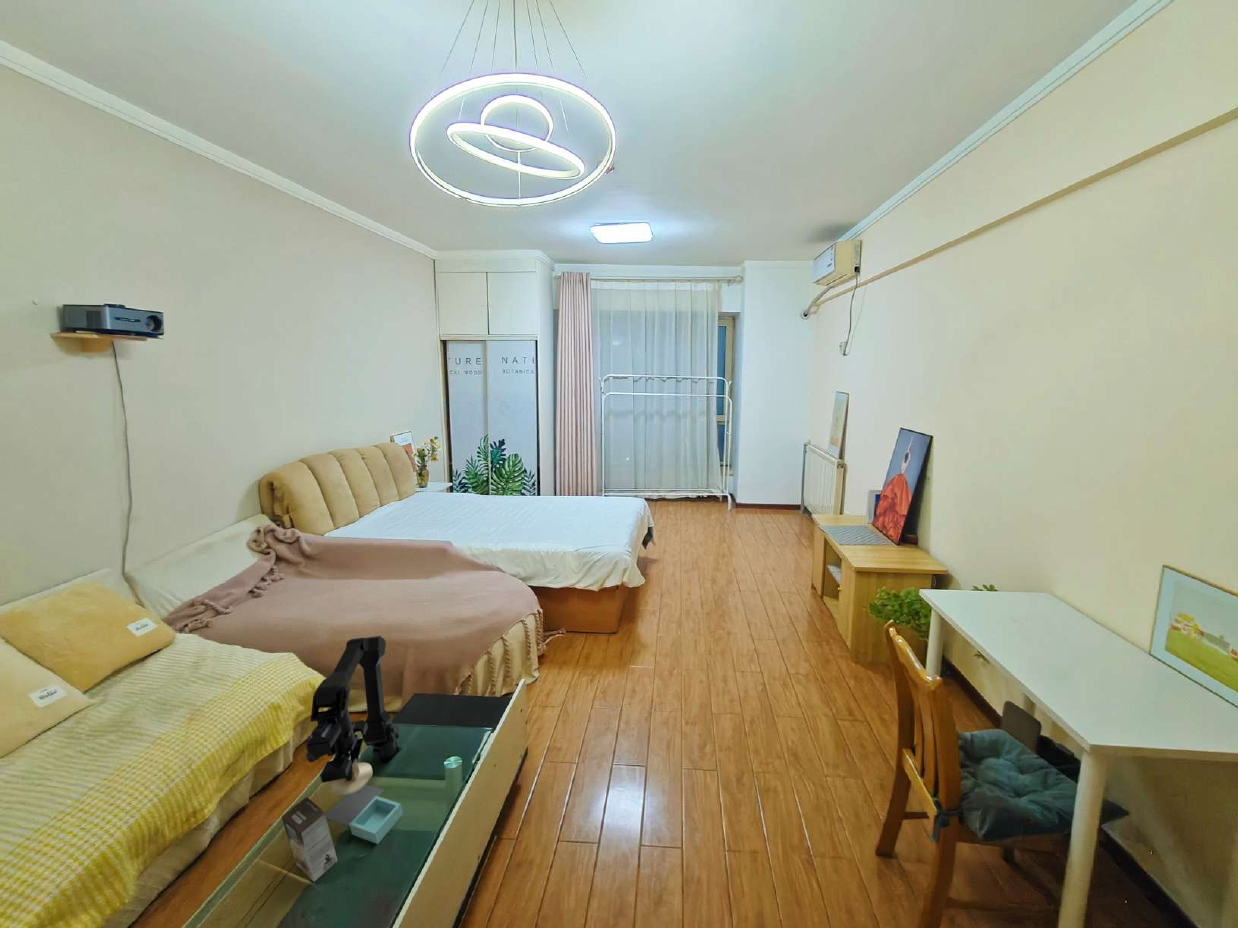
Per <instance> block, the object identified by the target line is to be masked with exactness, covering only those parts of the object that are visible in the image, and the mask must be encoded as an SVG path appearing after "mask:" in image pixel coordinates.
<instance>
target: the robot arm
mask: <svg viewBox="0 0 1238 928" xmlns="http://www.w3.org/2000/svg"><path fill="white" fill-rule="evenodd" d="M386 642H387V641H386V640H385V638H383V637H382V636H381V635H378V636H377V635H376V636H375V635H374V636H367V637H357V638H350V640H347V641H346V645H345V649H344V650H343V653H342V655H340V658H339V660H338V662H337V663H336V666H335V667H334V669H333V671H332V672H331V674H330V675H329V676H327V677H325V678H324V679H323V680H322V681H321V682H320V684H319V685H318V686H317V688H316V690H315V691H314V692H313V696H312V704H311V714H310V722H317V725H316V727H315V728H313V730H312V731H311V735H310V737H309V739H308V741H307V742H306V752H305V753H306V754H305V757H306V760H307V761H308V762H309V763H314V762H316V761H318V760H320V759H321V758H322V757H324V756H326V755H327V757H332V756H334V757H333V759H332V760H329V761H327V762H326V763H325V764H324V765H323V768H322V770H321V771H320V773H319V775H318V776H319V779H320V782H321V783H324V784H325V783H328V782H332V781H334V780H339V779H344V778H345V779H346V780H347V781H350V780H352V776H353V770H354V764H355V758H356V759H357V763H359V760H360V759H359V757H360V755H361V750H362V745H363V743H364V744H365V746H367V747H369V746H371V747H372V758H371V760H372V761H374V762H376V763H379V764H385V765H387V764H388V763H390V762H391V761H392V759H394V757H396V755H398V753H399V752H401V751H402V747H400V746H398V742H397V739H399V737H400V733H399V732H400V725H399V724H395V723H394V724H393V719H392V715H390V714H389V713H388V711H386V709H385V699H384V690H383V679H382V677H383V676H382V670H381V668H382V667H381V662H382V660H383V658H384V657H385V653H386V647H387V643H386ZM358 665H359V666H360V667H361V668H362V670H363V680H364V681H363V682H364V690H365V691H364V692H365V698H366V699H365V701H366V713H367V717H366V719H365V720H364V719H361V720H355V721H352V720H351V716H350V712H349V707H348V704H349V701H350V692H351V687H350V681H351V679H352V676H353V675H354V673H355V671H356V669H357V667H358ZM321 709H326V710H323V711H320V710H321ZM357 732H360V733H361V738H359V735H358V734H356V733H357Z"/></svg>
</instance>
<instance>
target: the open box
mask: <svg viewBox="0 0 1238 928" xmlns="http://www.w3.org/2000/svg"><path fill="white" fill-rule="evenodd" d="M402 816H404V811H403V809H402V804H401V803H400V802H396V801H394V800H390V799H387V798H384V797H381V796H375V797H374V798H373V800H372V801H371V802H370V803H369V804H368V805H367V806H366V807H365V808H364V809H363V810H362V811H361V812H360V813H359V814H358V816H357V817H356V818H355V819H354V820H353V821H352V822H351V823H350V824H349V825H350V827H349V828H350V832H351V835H353V836H355V837H358V838H360V839H362V840H365V841H369V842H371V843H374V844H376V845H379V843H380V842H381V841H382V840H383V839H384V838H385V836H386V835H387V834H388V833H389V832H390V831H391V829H392V828H393V827H394V826H395V825H396V823H397V822H398V821H399V820H400V819H401V817H402Z"/></svg>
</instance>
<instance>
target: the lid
mask: <svg viewBox="0 0 1238 928" xmlns="http://www.w3.org/2000/svg"><path fill="white" fill-rule="evenodd" d="M372 777H373V768H372V765H371V764H370V763H368V762H363V761H362V762H358V763H357V759H356V758H355V764H354V770H353V776H352V780H350V781H347V780H346V779H345V778H344V779H339V780H334V781H331V791H332V793H333V794H334V795H336V796H339V797H340V796H341V797H344V796H345V795H350V794H352V793H355V792H357V791H358V790H360V789H361V788H363V787H364V786H365V785H366V784H367V785H368V783H369V782H370V781H371V779H372Z"/></svg>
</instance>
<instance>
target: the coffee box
mask: <svg viewBox="0 0 1238 928" xmlns="http://www.w3.org/2000/svg"><path fill="white" fill-rule="evenodd" d="M325 815H326V813H325V811H324V810H323V809H322V808H320V807H319V806H318V805H317V804H316V803H315V802H313V801H312V800H311V799H310V798H309V797H307V796H305V797H304V798H303V799H302V800H300V801H299V802H298V803H297V804H295V805H294V806H292V807H291V808H290V809H289V810H288V811H286V812H285V813H284V814H283V815H282V816H281V820H282V824H283V827H284V830H285V834H286V836H287V839H288V842H289V846H290V849H291V852H292V855H293V858H294V862H295V864H296V866H297V867H298V868H299V869H300V870H301V871H302V872H303V873H304V874H305V875H306V876H307V877H308V878H309V879H310V880H311V881H312V882H316V881H317V880H318V879H319V878H320V877H322V875H323V874H325V873H326V872H327V871H328V870H329V869H330V868H332V867H333V866H334V864H335V863H337V862H338V857H337V853H336V849H335V846H334V842H333V839H332V835H331V831H330V828H329V824H328V819H327V818H326V816H325Z"/></svg>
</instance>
